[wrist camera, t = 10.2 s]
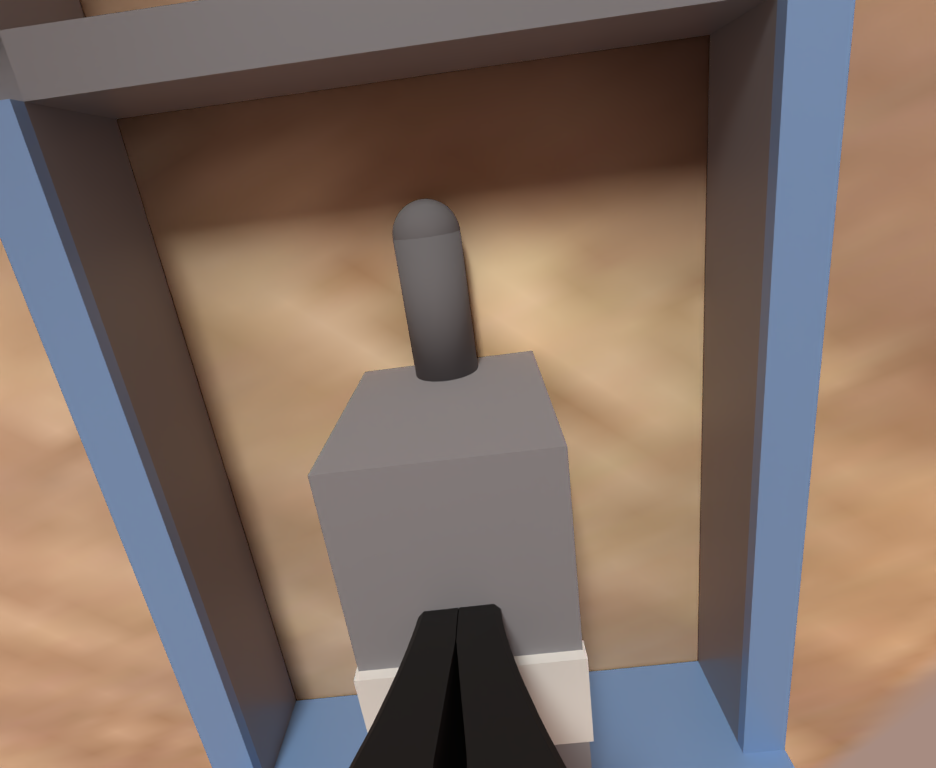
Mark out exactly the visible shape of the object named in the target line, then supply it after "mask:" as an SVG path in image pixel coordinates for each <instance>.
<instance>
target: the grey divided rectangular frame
mask: <svg viewBox="0 0 936 768" xmlns="http://www.w3.org/2000/svg"><path fill="white" fill-rule="evenodd" d="M854 9H855V0H199V1H192V2H185V3H179V4H172V5H165V6H159V7H152V8H145V9H138V10H132V11H125V12H118V13H112V14H105V15H98V16H92V17H84V14H83V10H82V7H81V4H80V1H79V0H0V238H1V241H2V243H3V246H4V248H5V251H6V253H7V256H8V258H9V261H10V263H11V266H12V268H13V271H14V273H15V276H16V278H17V281H18V283H19V286H20V288H21V291H22V293H23V296H24V298H25V301H26V303H27V306H28V308H29V311H30V313H31V316H32V318H33V321H34V323H35V326H36V328H37V331H38V333H39V336H40V338H41V341H42V343H43V346H44V348H45V351H46V353H47V356H48V358H49V361H50V363H51V366H52V368H53V371H54V373H55V376H56V378H57V381H58V383H59V386H60V388H61V391H62V393H63V396H64V398H65V401H66V403H67V406H68V408H69V411H70V413H71V416H72V418H73V421H74V423H75V426H76V428H77V431H78V433H79V436H80V438H81V441H82V443H83V446H84V448H85V451H86V453H87V456H88V458H89V461H90V463H91V466H92V468H93V471H94V473H95V476H96V478H97V481H98V483H99V486H100V488H101V491H102V493H103V496H104V498H105V501H106V503H107V506H108V508H109V511H110V513H111V516H112V518H113V521H114V523H115V526H116V528H117V531H118V533H119V536H120V538H121V541H122V543H123V546H124V548H125V551H126V553H127V556H128V558H129V561H130V563H131V566H132V568H133V571H134V573H135V576H136V578H137V581H138V583H139V586H140V588H141V591H142V593H143V596H144V598H145V601H146V603H147V606H148V608H149V611H150V613H151V616H152V618H153V621H154V623H155V626H156V628H157V631H158V633H159V636H160V638H161V641H162V643H163V646H164V648H165V651H166V653H167V656H168V658H169V661H170V663H171V666H172V668H173V671H174V673H175V676H176V678H177V681H178V683H179V686H180V688H181V691H182V693H183V696H184V698H185V701H186V703H187V706H188V708H189V711H190V713H191V716H192V718H193V721H194V723H195V726H196V728H197V731H198V733H199V736H200V738H201V741H202V743H203V746H204V748H205V751H206V753H207V756H208V758H209V761H210V763H211V766H212V768H349V767H350V765H351V763H352V761H353V759H354V757H355V756H356V754H357V752H358V750H359V748H360V746H361V745H362V743H363V741H364V739H365V737H366V735H367V734H368V733H367V729H366V725H365V721H364V718H363V714H362V710H361V706H360V703H359V699H358V695H350V696H340V697H330V698H320V699H310V700H300V701H296V699H295V695H294V692H293V689H292V686H291V683H290V679H289V676H288V673H287V670H286V666H285V663H284V660H283V657H282V653H281V650H280V647H279V644H278V641H277V637H276V634H275V631H274V628H273V624H272V621H271V618H270V615H269V611H268V608H267V605H266V602H265V599H264V595H263V592H262V589H261V586H260V582H259V579H258V576H257V573H256V569H255V566H254V563H253V560H252V557H251V553H250V550H249V547H248V544H247V540H246V537H245V534H244V531H243V527H242V524H241V521H240V518H239V514H238V511H237V508H236V505H235V502H234V498H233V495H232V492H231V489H230V485H229V482H228V479H227V476H226V472H225V469H224V466H223V463H222V460H221V456H220V453H219V450H218V447H217V443H216V440H215V437H214V434H213V430H212V427H211V424H210V421H209V418H208V414H207V411H206V408H205V405H204V401H203V398H202V395H201V392H200V388H199V385H198V382H197V379H196V376H195V372H194V369H193V366H192V363H191V359H190V356H189V353H188V350H187V346H186V343H185V340H184V337H183V334H182V330H181V327H180V324H179V321H178V317H177V314H176V311H175V308H174V304H173V301H172V298H171V295H170V292H169V288H168V285H167V282H166V279H165V275H164V272H163V269H162V266H161V262H160V259H159V256H158V253H157V249H156V246H155V243H154V240H153V237H152V233H151V230H150V227H149V224H148V220H147V217H146V214H145V211H144V207H143V204H142V201H141V198H140V195H139V191H138V188H137V185H136V182H135V178H134V175H133V172H132V169H131V165H130V162H129V159H128V156H127V153H126V149H125V146H124V143H123V140H122V136H121V133H120V130H119V127H118V123H117V120H116V119H121V118H128V117H135V116H142V115H149V114H156V113H164V112H171V111H178V110H185V109H192V108H199V107H206V106H213V105H220V104H227V103H234V102H241V101H248V100H255V99H262V98H269V97H276V96H283V95H290V94H297V93H304V92H311V91H318V90H325V89H332V88H339V87H347V86H354V85H361V84H368V83H375V82H382V81H389V80H396V79H403V78H410V77H417V76H424V75H431V74H438V73H445V72H452V71H459V70H466V69H473V68H480V67H487V66H494V65H501V64H508V63H515V62H522V61H529V60H537V59H544V58H551V57H558V56H565V55H572V54H579V53H586V52H593V51H600V50H607V49H614V48H621V47H628V46H635V45H642V44H649V43H656V42H663V41H670V40H677V39H684V38H691V37H698V36H705V35H710V53H709V106H708V159H707V211H706V264H705V316H704V369H703V422H702V474H701V527H700V579H699V632H698V661H693V662H683V663H673V664H663V665H653V666H643V667H633V668H623V669H613V670H603V671H592V672H589V682H590V696H591V709H592V723H593V737H594V741H593V742H590V753H591V766H592V768H795V767H794V766H793V764H792V762H791V760H790V758H789V757H788V755H787V753H786V751H785V740H786V729H787V719H788V708H789V698H790V687H791V676H792V666H793V655H794V645H795V634H796V623H797V613H798V602H799V592H800V581H801V570H802V560H803V549H804V539H805V528H806V517H807V507H808V496H809V486H810V475H811V464H812V454H813V443H814V433H815V422H816V411H817V401H818V390H819V380H820V369H821V358H822V348H823V337H824V327H825V316H826V305H827V295H828V284H829V274H830V263H831V252H832V242H833V231H834V221H835V210H836V199H837V189H838V178H839V168H840V157H841V146H842V136H843V125H844V115H845V104H846V93H847V83H848V72H849V62H850V51H851V40H852V30H853V19H854Z"/></svg>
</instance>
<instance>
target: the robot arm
mask: <svg viewBox="0 0 936 768" xmlns="http://www.w3.org/2000/svg"><path fill="white" fill-rule="evenodd" d="M349 768H567V767H566V766H565V764H564V762H563V760H562V758H561V756H560V755H559V753H558V751H557V749H556V747H555V745H554V743H553V742H552V740H551V738H550V736H549V734H548V732H547V730H546V728H545V726H544V724H543V722H542V720H541V718H540V716H539V714H538V712H537V710H536V707H535V705H534V703H533V701H532V699H531V697H530V694H529V692H528V690H527V688H526V686H525V684H524V681H523V679H522V677H521V674H520V672H519V669H518V667H517V664H516V662H515V659H514V656H513V654H512V651H511V648H510V645H509V642H508V639H507V636H506V632H505V629H504V625H503V620H502V614H501V609H500V608H499V607H498V606H496V605H495V604H487V605H478V606H469V607H460V608H459V610H458V608H450V609H441V610H432V611H424V612H423V613H422V614H421V615H420V616H419V617H418V620H417V623H416V626H415V629H414V632H413V634H412V637H411V639H410V642H409V645H408V647H407V650H406V652H405V655H404V657H403V659H402V662H401V664H400V666H399V669H398V671H397V673H396V675H395V678H394V680H393V682H392V684H391V686H390V689H389V691H388V693H387V695H386V697H385V699H384V701H383V703H382V705H381V707H380V709H379V711H378V714H377V716H376V718H375V720H374V722H373V724H372V726H371V728H370V730H369V732H368V734H367V735H366V737H365V739H364V741H363V743H362V745H361V746H360V748H359V750H358V752H357V754H356V756H355V757H354V759H353V761H352V763H351V765H350V767H349Z"/></svg>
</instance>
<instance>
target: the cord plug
mask: <svg viewBox="0 0 936 768" xmlns="http://www.w3.org/2000/svg"><path fill="white" fill-rule="evenodd" d="M393 242H394V248H395V254H396V260H397V266H398V272H399V277H400V283H401V289H402V295H403V301H404V306H405V312H406V318H407V324H408V330H409V336H410V341H411V347H412V353H413V359H414V365H415V366H407V367H400V368H392V369H384V370H376V371H368V372H365V373H364V375H363V377H362V378H361V380H360V382H359V384H358V386H357V388H356V389H355V391H354V393H353V395H352V397H351V398H350V400H349V402H348V404H347V406H346V407H345V409H344V411H343V413H342V415H341V417H340V418H339V420H338V422H337V424H336V426H335V427H334V429H333V431H332V433H331V435H330V436H329V438H328V440H327V442H326V444H325V445H324V447H323V449H322V451H321V453H320V455H319V456H318V458H317V460H316V462H315V464H314V465H313V467H312V469H311V471H310V473H309V474H308V479H309V483H310V486H311V490H312V494H313V498H314V502H315V506H316V509H317V513H318V517H319V521H320V525H321V529H322V532H323V536H324V540H325V544H326V548H327V552H328V555H329V559H330V563H331V567H332V571H333V575H334V578H335V582H336V586H337V590H338V594H339V598H340V602H341V605H342V609H343V613H344V617H345V621H346V625H347V628H348V632H349V636H350V640H351V644H352V648H353V651H354V655H355V659H356V663H357V669H356V674H355V678H354V684H355V688H356V691H357V695H358V699H359V703H360V706H361V710H362V714H363V718H364V721H365V725H366V729H367V733H368V732H369V730H370V728H371V726H372V724H373V722H374V720H375V718H376V716H377V714H378V711H379V709H380V707H381V705H382V703H383V701H384V699H385V697H386V695H387V693H388V691H389V689H390V686H391V684H392V682H393V680H394V678H395V675H396V673H397V671H398V669H399V666H400V664H401V662H402V659H403V657H404V655H405V652H406V650H407V647H408V645H409V642H410V639H411V637H412V634H413V632H414V629H415V626H416V623H417V620H418V617H419V616H420V615H421V614H422V613H423V612H424V611H432V610H441V609H450V608H458V610H459V608H460V607H469V606H478V605H487V604H495V605H496V606H498V607H499V608H500V609H501V614H502V620H503V625H504V629H505V632H506V636H507V639H508V642H509V645H510V648H511V651H512V654H513V656H514V659H515V662H516V664H517V667H518V669H519V672H520V674H521V677H522V679H523V681H524V684H525V686H526V688H527V690H528V692H529V694H530V697H531V699H532V701H533V703H534V705H535V707H536V710H537V712H538V714H539V716H540V718H541V720H542V722H543V724H544V726H545V728H546V730H547V732H548V734H549V736H550V738H551V740H552V742H553V743H554V745H555V747H556V749H557V751H558V753H559V755H560V756H561V758H562V760H563V762H564V764H565V766H566V767H567V768H592V766H591V753H590V742H593V741H594V737H593V723H592V709H591V696H590V682H589V668H588V657H587V653H586V649H585V645H584V641H582V634H581V621H580V608H579V595H578V581H577V568H576V555H575V542H574V529H573V516H572V502H571V489H570V476H569V463H568V450H567V444H566V441H565V439H564V436H563V433H562V430H561V428H560V425H559V422H558V420H557V417H556V414H555V411H554V409H553V406H552V403H551V400H550V398H549V395H548V392H547V390H546V387H545V384H544V381H543V379H542V376H541V373H540V370H539V368H538V365H537V362H536V359H535V357H534V354H533V351H527V352H519V353H511V354H503V355H495V356H487V357H479V358H477V356H476V348H475V341H474V333H473V325H472V318H471V310H470V302H469V295H468V287H467V279H466V272H465V264H464V256H463V249H462V241H461V233H460V227H459V223H458V221H457V219H456V216H455V215H454V214H453V212H452V211H451V210H450V209H449V208H448V207H447V206H446V205H444V204H443V203H441V202H439V201H436V200H432V199H419V200H415V201H413V202H411V203H409V204H407V205H406V206H405V207H404V208H403V209H402V210H401V211H400V212H399V213H398V215H397V217H396V219H395V222H394V225H393Z"/></svg>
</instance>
